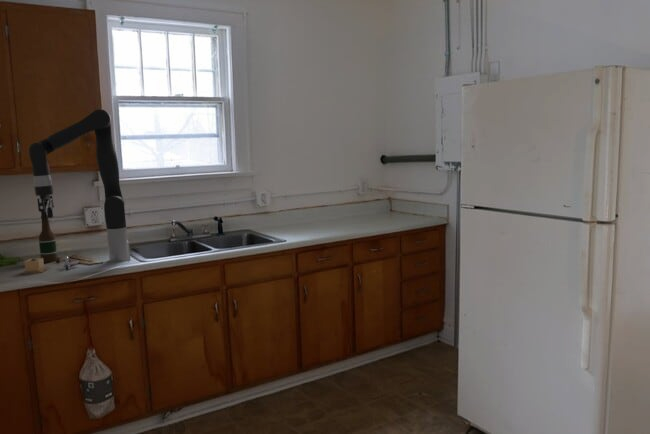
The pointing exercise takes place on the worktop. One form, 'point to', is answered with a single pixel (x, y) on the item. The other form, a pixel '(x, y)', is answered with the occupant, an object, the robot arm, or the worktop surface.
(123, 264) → the worktop surface
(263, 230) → the worktop surface
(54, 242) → the beer bottle
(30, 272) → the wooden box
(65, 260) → the charcoal stand
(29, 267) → the brown slotted box
